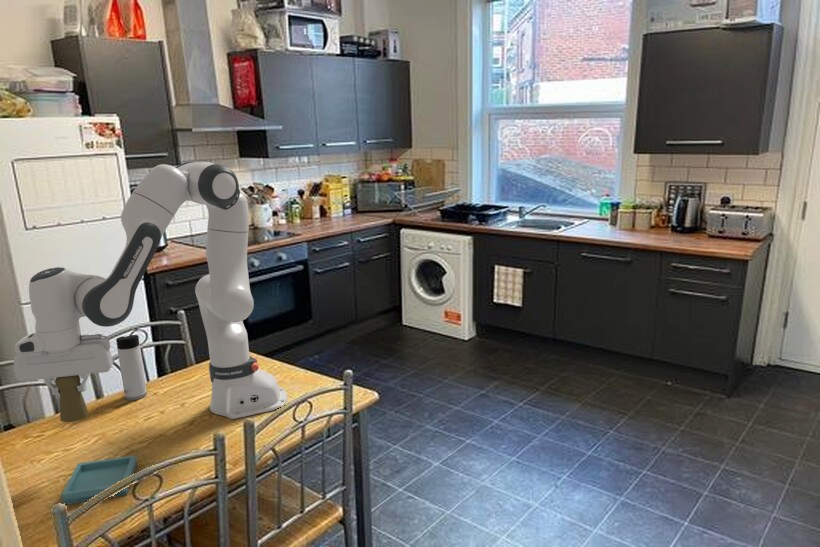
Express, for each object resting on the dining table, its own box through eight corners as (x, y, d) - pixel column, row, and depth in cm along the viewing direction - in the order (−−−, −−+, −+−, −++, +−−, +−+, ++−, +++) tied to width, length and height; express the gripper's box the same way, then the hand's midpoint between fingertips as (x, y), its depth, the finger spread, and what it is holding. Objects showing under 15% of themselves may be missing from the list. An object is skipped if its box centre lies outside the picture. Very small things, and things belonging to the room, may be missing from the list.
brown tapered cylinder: (75, 423, 140) (67, 380, 137) (54, 420, 141) (45, 378, 138) (94, 411, 145) (86, 369, 143) (73, 409, 147) (65, 367, 144)
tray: (137, 464, 147) (135, 455, 146) (126, 495, 134) (125, 485, 134) (79, 472, 144) (77, 463, 143) (63, 505, 131) (61, 495, 131)
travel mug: (124, 402, 180) (115, 340, 175) (125, 394, 186) (116, 333, 181) (147, 398, 182) (138, 337, 177) (146, 390, 188) (138, 330, 183)
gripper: (111, 328, 143) (119, 381, 147) (16, 337, 139) (28, 391, 142) (104, 337, 137) (113, 392, 141) (5, 347, 133) (17, 403, 136)
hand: (69, 392), depth 141 cm, fingers closed on brown tapered cylinder, 4 cm apart
